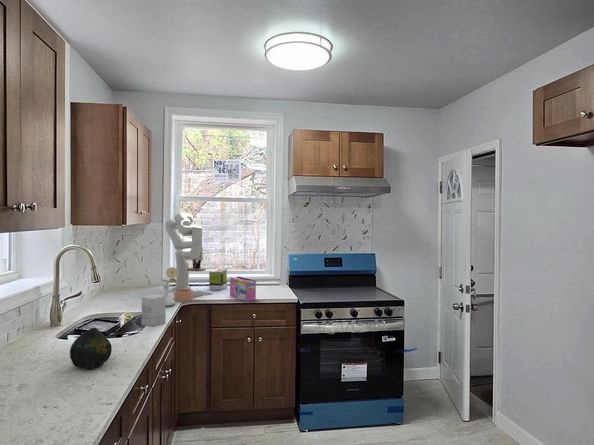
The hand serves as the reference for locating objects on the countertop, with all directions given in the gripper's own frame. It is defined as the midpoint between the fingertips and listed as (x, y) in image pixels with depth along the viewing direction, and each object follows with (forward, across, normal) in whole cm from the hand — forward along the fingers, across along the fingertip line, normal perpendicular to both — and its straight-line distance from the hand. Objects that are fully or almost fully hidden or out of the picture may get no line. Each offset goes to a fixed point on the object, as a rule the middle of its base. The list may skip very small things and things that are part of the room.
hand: (196, 267), depth 301 cm
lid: (+2, 0, 0) cm, 2 cm away
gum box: (+20, +33, +16) cm, 42 cm away
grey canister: (+20, +50, -64) cm, 83 cm away
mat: (+19, 0, 0) cm, 19 cm away
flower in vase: (+20, +18, -35) cm, 44 cm away
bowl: (+20, +9, -17) cm, 27 cm away
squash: (+20, +87, -112) cm, 143 cm away
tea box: (+20, -7, +26) cm, 33 cm away
